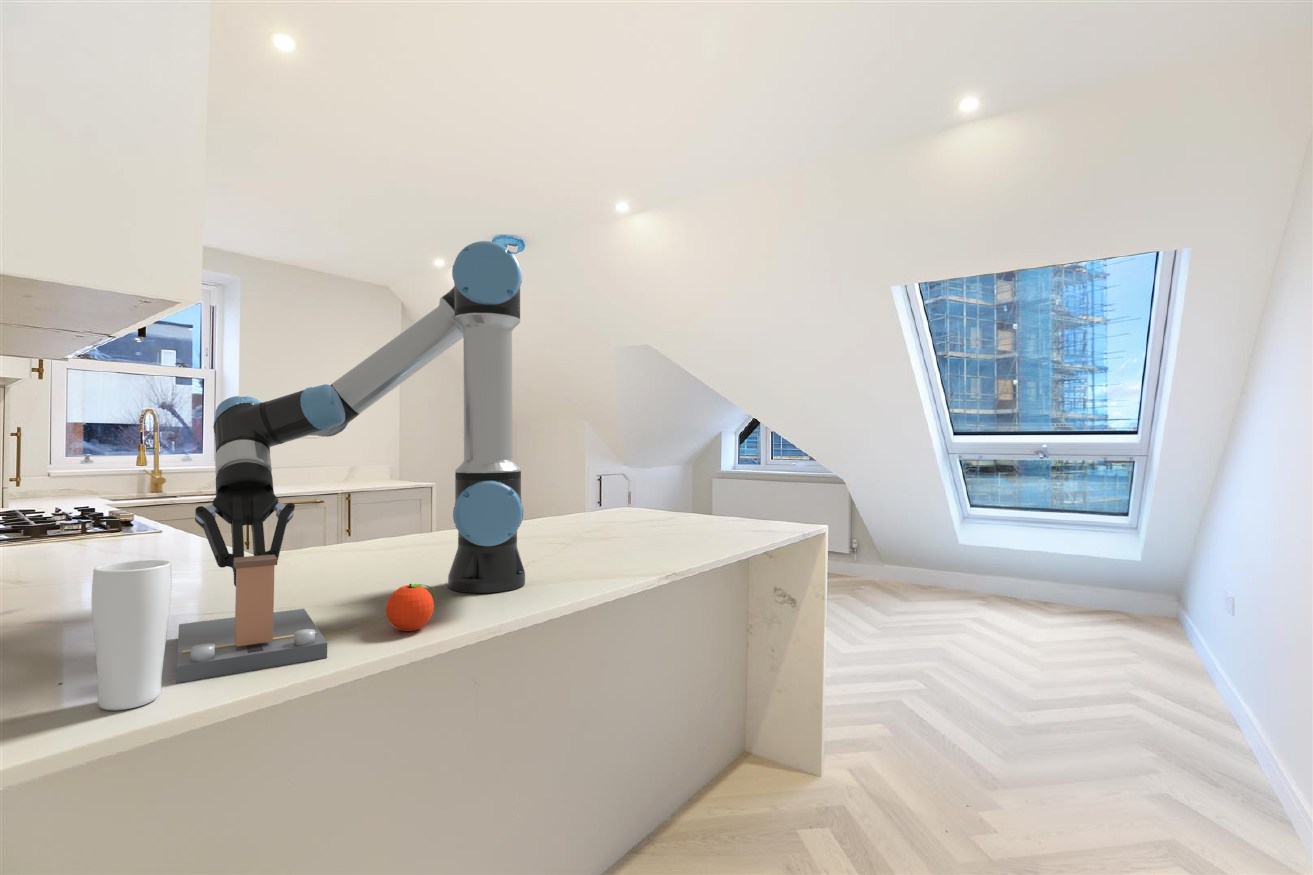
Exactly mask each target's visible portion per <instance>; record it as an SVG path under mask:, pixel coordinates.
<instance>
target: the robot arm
mask: <svg viewBox="0 0 1313 875" xmlns="http://www.w3.org/2000/svg"><path fill="white" fill-rule="evenodd" d="M451 270H452V271H451V274H452V275H451V276H452V280H453V284H454V286H453V287H452V288H451V289H450V290H448V292H447V293H445V294H444V295H443V296H441V297H440V298H439V304H438V306H437V307H436V308H435V307H434V309H432V310H431V311H430V312H428V314H426V315H424V316H423V317H422V318H420V319H419V320H418V321H416V322H415V323H414V324H412V325H411V326H409V327H408V328H406V329H405V330H404V331H403V332H401V333H400V334H398V335H397V336H395V337H394V338H393V339H391V340H390V341H389V342H387V343H386V344H384V345H383V346H382V347H380V348H379V349H377V350H376V351H375V352H373V353H372V354H371V355H369V356H368V357H366V358H365V359H364V360H362V361H360V363H358V364H357V365H356V366H354V367H353V368H351V369H350V370H348V372H346V373H345V374H343V375H342V376H340V377H339V378H338V379H336V380H335V381H334V382H332V383H331V384H322V385H317V386H313V387H312V386H310V387H306V388H305V389H303V390H299V391H297V392H293V393H290V394H287V395H283V396H280V397H278V398H275V399H271V400H268V401H263V402H262V401H260V400H259V399H258V398H255V397H252V396H247V395H246V396H239V395H236V396H235V395H234V396H230V397H228V398H226V399H224V400H222V401H221V402H220V403H219V404H218V406H217V407H216V409H215V412H214V413H215V414H214V421H213V426H212V427H213V433H214V446H215V447H214V448H215V452H214V458H215V459H214V460H215V462H214V463H215V464H214V466H215V498H214V499H213V500H212V503H211V504H210V505H208V506H203V505H201V506H197V507H196V508H195V513H194V522H195V523H196V524H197V525H199V526H200V527H201V529H202V530H203V531H204V534H205V536H206V538H207V541H208V543H209V547H210V549H211V552H212V554H213V556H214V559H215V561H216V565H217V566H218V567H219V568H226V567H228V568H231V569H232V573H233V585H234V587H235V588H236V569H235V566H234V558H235V557H245V544H244V526H251V536H252V548H253V549H252V550H253V556H260V555H273V554H274V555H275V556H276V558H277V559H278V560H277V562H278V561H279V557H280V553H281V549H282V544H283V541H284V536H285V533H286V528H287V524H289V522H290V521H291V520H292V519H293V517H294V513H295V508H296V505H295V504H294V503H292V502H290V503H287V504H285V503H282V502H280V501H279V497H277V496H276V495H275V491H274V482H273V481H274V480H273V473H272V471H273V468H272V460H271V451H270V450H271V448H272V447H276V446H279V445H282V444H285V443H288V442H292V441H295V440H297V439H300V438H305V437H308V436H318V437H323V438H325V437H327V438H328V437H334V436H336V435H338V434H340V433H342V432H343V431H344V430H345V429H346V428H347V426H348V425H349V423H350V422H352V421H353V420H354V419H356V418H357V417H358V416H359V415H360V414H362V413H363V412H365V411H366V410H367V409H369V408H370V407H371V406H372V405H374V404H375V403H376V402H378V401H380V400H381V399H382V398H384V397H385V396H386V395H388V394H389V393H390V392H392V391H393V390H394V389H395V388H397V387H398V386H400V385H401V384H403V382H405V381H406V380H408V379H409V378H410V377H412V376H413V375H415V374H416V373H418V371H420V370H421V369H423V368H425V366H427V365H428V364H430V363H431V362H432V361H433V360H434V359H435V360H436V358H437V357H439V356H440V355H442V354H443V353H445V351H447V350H448V349H450V348H451V347H452V346H454V345H455V344H456V343H458V342H459V341H461V340H462V339H463V462H462V463H461V464H460V465H459V466H458V467H457V468H456V469H455V471H454V474H455V475H454V476H455V478H454V483H455V484H454V489H455V490H454V492H455V493H454V494H455V495H454V496H455V497H454V500H455V503H454V507H453V511H452V518H453V523H454V524H455V527H456V530H457V549H456V552H455V554H454V558H453V561H452V564H451V567H450V570H449V572H448V576H447V577H448V578H447V588H448V589H450V590H451V591H455V592H461V593H471V594H474V593H475V594H483V593H484V594H485V593H486V594H487V593H500V592H506V591H511V590H512V591H513V590H517V589H519V588H522V587H523V586H524V585H526V572H525V568H524V565H523V562H522V558H521V555H520V551H519V549H518V530H519V528H520V527H521V524H522V523H523V518H524V506H523V504H522V503H523V502H522V469H521V468H520V467H519V466H518V465H517V464H516V463H515V461H514V460H513V331H514V329H515V328H516V327H517V326H518V325H519V324H520V323H521V286H522V283H523V271H522V268H521V265H520V263H519V260H518V259H517V256H516V255H515V253H513V252H512V250H510V249H509V248H507V247H506V246H504V245H503V244H501V243H498V242H494V241H492V240H491V241H489V240H481V241H480V240H479V241H475V242H472V243H470V244H468V245H466V246H465V247H463V248H462V249H461V250H460V252H459V253H458V254H457V256H456V257H455V259H454V262H453V265H452V269H451ZM275 511H276V513H275V516H276V518H277V522H276V525H275V530H274V534H273V537H272V541H271V545H270V549H268V550H266V544H265V542H266V541H265V532H264V531H265V530H264V522H265V521H266V520H267V519H268V518H269V517H270V516H271V515H272V514H273V513H274V512H275ZM216 515H218V516H219V517H220V518H221V519H222V520H224V521H225V522H227V524H229V525H230V529H231V548H232V550H231V551H232V553H231V552H229V550H228V548H227V545H226V543H225V540H224V538H223V535H222V533H221V530H220V527H219V526H218V525H219V524H218V522H217V521H216Z"/></svg>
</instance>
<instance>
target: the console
mask: <svg viewBox="0 0 1313 875" xmlns="http://www.w3.org/2000/svg"><path fill="white" fill-rule="evenodd" d="M177 636H178V637H177V639H178V640H177V657H176V658H177V659H176V661H177V662H176V684H180V683H186V682H191V681H198V680H203V679H209V678H216V677H221V676H227V675H234V674H240V673H245V672H250V671H257V670H258V671H259V670H263V669H270V668H275V667H280V666H287V665H292V664H298V663H303V662H310V661H317V660H321V659H322V660H323V659H327V658H328V641H327V640H326V638H325V637H324V635H323V634H322V632H321V631H320V630H319V628H318V627H317V626H316V624H315V622H314V621H313V619H312V617H310V615H309V614H308V612H307V610H306V609H305V608H299V609H298V608H297V609H290V610H283V611H282V610H281V611H273V641H271V642H264V643H258V644H251V645H244V646H237V647H236V643H235V616H233V617H227V618H218V619H217V618H216V619H211V620H202V621H201V620H200V621H194V622H186V623H178V635H177Z"/></svg>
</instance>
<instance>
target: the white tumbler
mask: <svg viewBox="0 0 1313 875" xmlns="http://www.w3.org/2000/svg"><path fill="white" fill-rule="evenodd" d="M172 570H173V569H172V562H171V561H169V560H163V559H142V560H141V559H140V560H129V561H120V562H114V563H108V564H107V563H106V564H102V565H99V566H96V567H95V568H93V570H92V583H91V618H92V627H93V628H92V630H93V638H94V639H93V641H94V650H95V651H94V652H95V661H96V663H95V664H96V676H97V677H96V678H97V704H98V707H99V708H101V709H102V710H105V711H123V710H125V711H126V710H130V709H134V708H138V707H143V706H145V705H147V704H151V702H153V701H155V700H157V699H158V698H159V697H160V695H161V692H162V684H163V683H162V678H163V677H162V676H163V668H164V659H165V651H166V643H167V636H168V627H169V621H170V613H171V605H172V594H173V593H172V590H173V573H172Z"/></svg>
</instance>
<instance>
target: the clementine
mask: <svg viewBox="0 0 1313 875" xmlns="http://www.w3.org/2000/svg"><path fill="white" fill-rule="evenodd" d="M424 586H425V587H427V588H428V589H430V590H431V591H432V593H433V595H434V596H436V594H435V590H434V589H433V588H432V587H431V586H429V585H426V584H423V583H421V584H420V583H413V584H412V583H409V584H406V585H402V586H400V587H399V588H397V589H396V590H395V591H393V593H391V595H390V596H389V598H388V600H387V602H386V607H385V614H386V619H387V621H388V622H389V624H391V626H393V628H395V629H397V630H399V631H404V632H413V631H416V630H419V629H421V628H423V627H424V626H425V625H427V623H428V622H429V621H430V620H431V619H432V616H433V614H434V609H435V606H434V605H435V604H434V598H433V596H432V594H431V592H429V590H428V589H426V588H424Z"/></svg>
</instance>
